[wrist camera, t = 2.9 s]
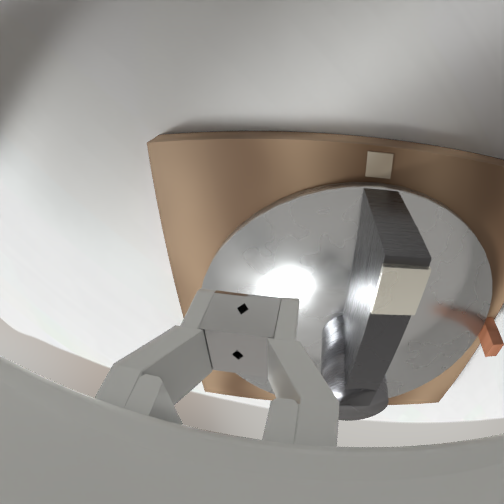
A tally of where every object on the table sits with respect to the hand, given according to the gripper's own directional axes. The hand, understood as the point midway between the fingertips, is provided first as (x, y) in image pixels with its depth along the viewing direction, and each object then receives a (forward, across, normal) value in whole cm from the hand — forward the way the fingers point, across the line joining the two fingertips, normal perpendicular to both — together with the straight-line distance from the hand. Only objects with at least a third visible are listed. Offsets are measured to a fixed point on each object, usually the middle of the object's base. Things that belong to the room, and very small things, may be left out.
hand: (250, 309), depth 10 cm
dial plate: (+9, -4, +8) cm, 13 cm away
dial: (+7, -5, +8) cm, 11 cm away
